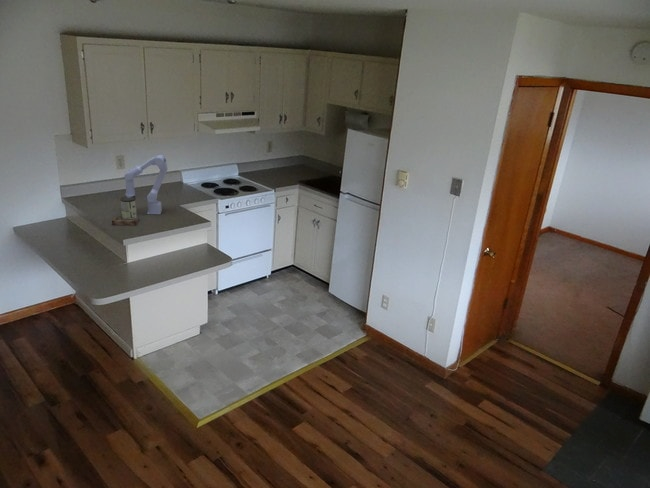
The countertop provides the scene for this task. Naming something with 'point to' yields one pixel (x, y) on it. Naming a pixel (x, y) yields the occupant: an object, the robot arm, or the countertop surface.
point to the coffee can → (128, 207)
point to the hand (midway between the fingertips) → (131, 206)
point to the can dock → (125, 221)
